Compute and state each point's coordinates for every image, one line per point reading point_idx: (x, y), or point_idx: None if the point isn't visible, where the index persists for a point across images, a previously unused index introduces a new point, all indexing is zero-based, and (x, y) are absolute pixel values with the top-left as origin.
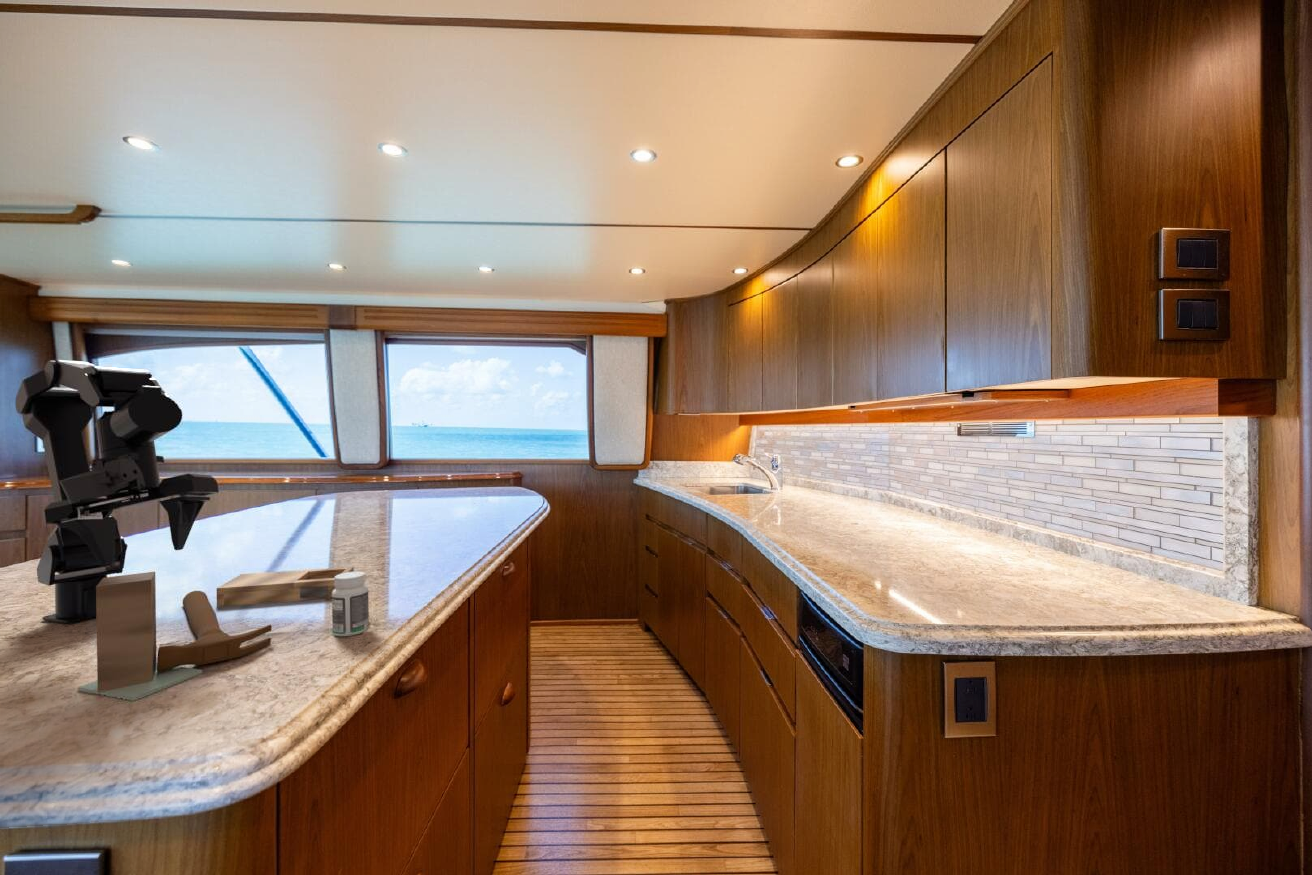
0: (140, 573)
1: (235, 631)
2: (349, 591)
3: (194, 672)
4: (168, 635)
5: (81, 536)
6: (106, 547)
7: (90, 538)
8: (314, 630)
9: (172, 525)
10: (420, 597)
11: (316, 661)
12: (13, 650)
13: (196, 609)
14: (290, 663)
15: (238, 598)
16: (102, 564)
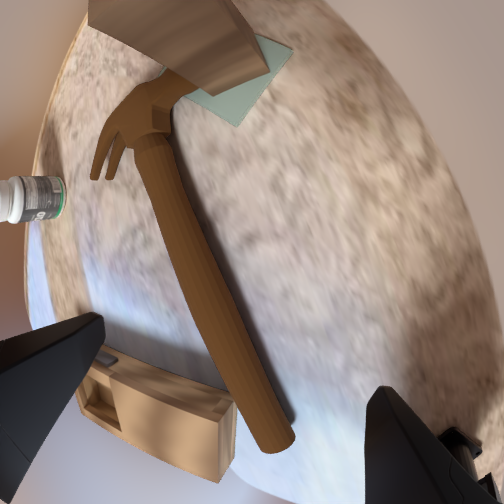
0: (110, 4)
1: (167, 262)
2: (8, 180)
3: (161, 73)
4: (272, 294)
5: (484, 493)
6: (387, 465)
7: (450, 485)
8: (82, 217)
9: (13, 352)
10: (35, 302)
11: (73, 105)
12: (497, 318)
13: (216, 323)
14: (89, 102)
15: (194, 397)
16: (392, 390)
